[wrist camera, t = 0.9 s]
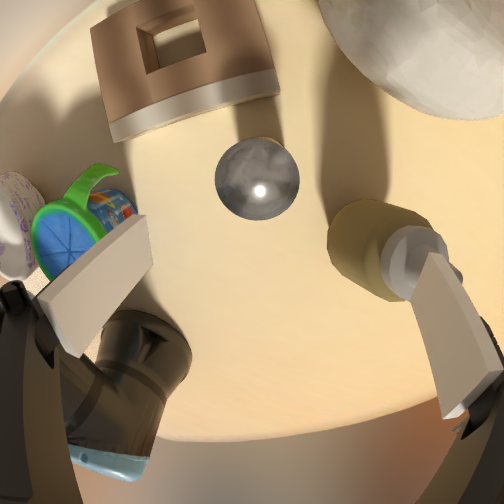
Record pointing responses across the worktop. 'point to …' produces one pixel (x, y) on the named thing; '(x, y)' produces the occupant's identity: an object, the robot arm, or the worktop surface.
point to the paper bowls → (17, 225)
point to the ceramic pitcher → (426, 51)
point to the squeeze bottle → (383, 247)
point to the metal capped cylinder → (257, 178)
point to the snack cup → (77, 221)
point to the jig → (179, 63)
